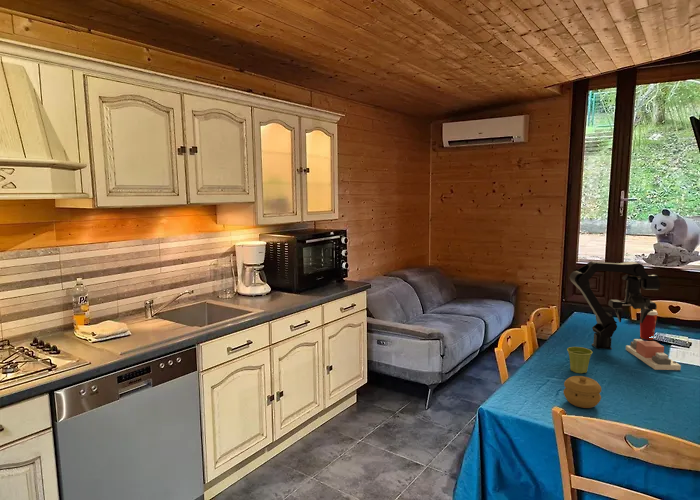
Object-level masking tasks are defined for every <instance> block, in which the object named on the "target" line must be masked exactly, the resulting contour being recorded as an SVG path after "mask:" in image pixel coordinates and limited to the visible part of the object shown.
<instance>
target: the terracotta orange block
mask: <svg viewBox="0 0 700 500" xmlns="http://www.w3.org/2000/svg"><path fill="white" fill-rule="evenodd" d="M636 352H637V353H639V354H640V355H642V356H643V357H645V358H652V356H656V353H665V346H664V345H662V344H660V343H659V342H658V341H656V340H643V341H637V346H636Z"/></svg>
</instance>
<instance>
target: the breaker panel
mask: <svg viewBox="0 0 700 500" xmlns="http://www.w3.org/2000/svg"><path fill="white" fill-rule="evenodd" d="M633 342H634V341H630V344H629V345H625V351H627V352H628V353H630V354H631V355H633V356H635V357H636V358H637V359H639V360H640V361H641V362H643V363H644V364H646V365H647V366H648V367H650V368H652V369H653V370H656V371H657V370H660V371H661V370H662V371H663V370H665V371H681V367H682V365H681V364H679V363H678V362H676V360H673V359H671V358H670V357H668V359H658V358H657V357H655V356H652V358H645V357H643V356H642V355H640V354H639V353H637V352H636V346H637V345H636V344H635V343H633Z"/></svg>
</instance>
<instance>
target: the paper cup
mask: <svg viewBox="0 0 700 500" xmlns="http://www.w3.org/2000/svg"><path fill="white" fill-rule="evenodd" d="M652 310H653V311H650V312H649V313H648V314H647V315H646V317H645V319H644V321H643V323H641V322H640V321H639V336H640V338H639V339H642V340H645V341H654V337H655V331H656V325H657V317H658V311H657V309H652ZM639 313H640V314H641V310H640V311H639ZM640 314H639V315H640ZM651 336H654V337H653V338H649V337H651Z"/></svg>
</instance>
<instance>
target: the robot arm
mask: <svg viewBox="0 0 700 500" xmlns="http://www.w3.org/2000/svg"><path fill="white" fill-rule="evenodd" d="M596 272H609V273H610V272H613V273H614V272H615V273H624V274H625V275H623V276H622V277H621V279H622V280H624V281H626V287H625V290H624V293H625V296H624V297H625V298H623V299H624V300H623V301H621V300H619V299H609V300H608V306H609V307H611V308H612V309H613V310H614V312H615V314H616V317H617V319H618V322H619V323H622V312H623V307H632V309H633V310H640V311H641V314H639V318H640V319H639V323H640V322H641V323H643V321H644V319H645V317H646V315H647V314H648V313H649V312H650V311H653V310H657V308H658V307H657V305H658V304H657V303H656V302H654V301H652V300H651V299H650V298H649V297H643V296H642V295H643V294H642V292H641V289H642V290H644V291H645V290H646V291H648V290H649V291H650V290H653V291H659V290H660V288H661V282H660V279H659V275H657V274H648V273H647V272H646V269H645V266H644V265H643V264H642V263H640V262H636V261H625V262H620V263H619V262H616V263H615V262H602V261H601V262H600V261H593V260H591V261H588V262H587V263H586V264H585V265H583V266H580V267H579V268H578V269H577V270H573V271H572V272H570V274H569V277H568V278H569V280H570V282H571V283H572V284H573V285H574V286H575V287H576V288H577V289H578V290H579V291H580V292H581V294H582V295H583V298H584V300H586V302H587V304H588V305H589V307H590V309H591V310H592V312H593V314H594V316H595V320H596V324H594V326H592V327H591V328H592V332H594V333H593V343H591V346H593V347H594V348H596V349H597V350H612V340H613V339H612V337H613V335H614V333H615V331H616V330H617V329H618V325H617V324H618V322H617V321H616V320H615V318H614V316H613V314H610V313H609V312H607V311H605V310H604V308H603V306H602V305H601V303H600V301H599V300H598V298H597V296H596V294H595V293H594V292H593V290H592V289H591V282H590V279H592V278H593V276H594V275H595V273H596Z"/></svg>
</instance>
